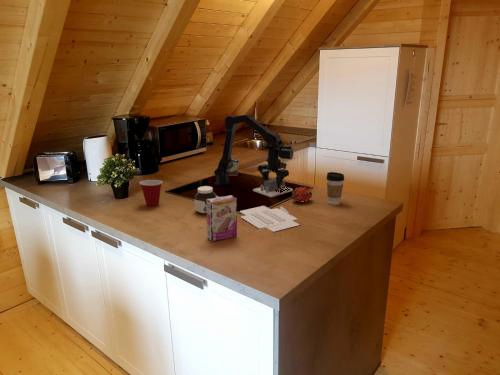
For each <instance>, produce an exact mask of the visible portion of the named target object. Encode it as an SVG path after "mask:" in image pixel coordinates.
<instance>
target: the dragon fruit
mask: <svg viewBox="0 0 500 375" xmlns="http://www.w3.org/2000/svg"><path fill="white" fill-rule="evenodd" d="M291 195H292V196H291V199H293V201H294V202H296V203H302V204H304V203H305V202H306V203H308V202H309V201H310V199H311V198H312V196H313V193H312V191H311V190H310V189H308V188H307V187H306V186H304V187H302V186H299V187H295V188H294V189H293V191H291ZM297 200H298V201H297ZM306 200H307V201H306ZM300 201H305V202H300Z"/></svg>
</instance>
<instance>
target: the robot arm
mask: <svg viewBox="0 0 500 375" xmlns="http://www.w3.org/2000/svg"><path fill="white" fill-rule="evenodd" d="M242 123H244V124H246V125H247V126H249V128H251V129H252V130H253V131H255V132H256V134H257V133H258V134H259V135H260V136H261V137H262V138H263V141H264V142H265V143H266V145H265V146H264V147H263V149H265V150H267V159H266V160H265V162H266V163H267V164H266V163H264V164H259V165H258V167H257V172H259V173H260V175H261V176H262V179H263V182H264V181H266V180H269V177H270V176H269V175H270V173H275V178H276V181H277V186H278V188H280V186H281V183H282V184H283V182H284V181H283V180H284V179H285V178H287V177H288V176H290V171H289V170H288V169H287V165H288V163H286V162H282V161H281V159H283V160H284V159H285V160H293V157H294V154H295V153H294V150H293V146H292V145H285V144H284V142H283V141H282V140H281V136H280V134H278V133H277V132H275V131H273V130H270V129H268V128H267V127H265V126H264V125H263V124H261V123H260V122H259V121H257V120H256V119H255V118H254V117H252V116H251V115H250V114H248V113H245V114H241V115H237V114H232V115H228V116H226V117H225V119H224V128H225V137H224V143H223V150H222V156H221V158H220V159H221V160H220V159H219V162H218V165H217V168H216V169H215V170H214V171H213V173H214V176H215V177H216V179H215V180H216V181H215V182H214V184H215V185H218V186H219V187H224V186H228V185H230V184H231V182H230V176H229V175H228V173H229V171H230V169H231V168H232V167H233V162H234V160H232V159H231V158H232V153H233V152H232V151H233V146H234V138H235V133H236V131H237V128H239V124H242Z"/></svg>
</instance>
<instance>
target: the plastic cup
mask: <svg viewBox="0 0 500 375" xmlns="http://www.w3.org/2000/svg"><path fill="white" fill-rule="evenodd" d="M139 184H140V187H141V191H142V193H143V199H144V200H145V204H146V206H147V207H149V208H154V207H158V206H159V204H160V199H161V198H160V197H161V189H162V184H163V181H162V180H158V179H145V180H141V181H139Z"/></svg>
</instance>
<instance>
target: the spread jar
mask: <svg viewBox="0 0 500 375" xmlns="http://www.w3.org/2000/svg"><path fill="white" fill-rule="evenodd" d="M218 197H219V196H218V195H217V194H216V193H215V192H214V189H213V187H212V186H209V185H204V186H199V187H198V188H197V193H196V194H195V196H194V208H195V211H196V213H197V214H199V215H202V216H207V205H206V199H211V198H218Z"/></svg>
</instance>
